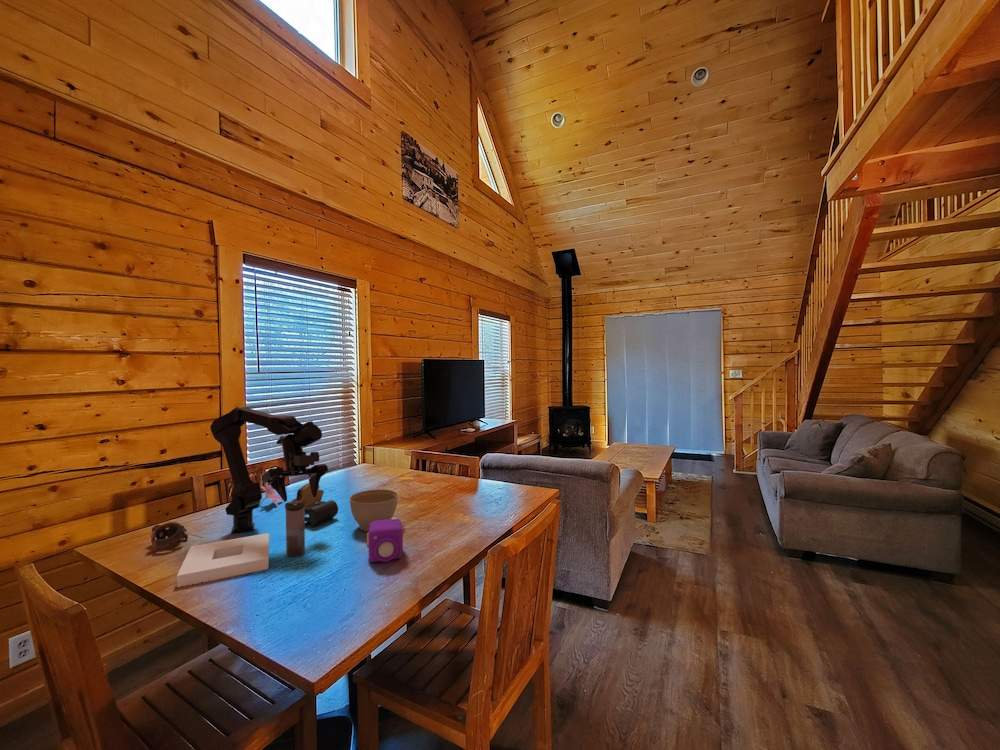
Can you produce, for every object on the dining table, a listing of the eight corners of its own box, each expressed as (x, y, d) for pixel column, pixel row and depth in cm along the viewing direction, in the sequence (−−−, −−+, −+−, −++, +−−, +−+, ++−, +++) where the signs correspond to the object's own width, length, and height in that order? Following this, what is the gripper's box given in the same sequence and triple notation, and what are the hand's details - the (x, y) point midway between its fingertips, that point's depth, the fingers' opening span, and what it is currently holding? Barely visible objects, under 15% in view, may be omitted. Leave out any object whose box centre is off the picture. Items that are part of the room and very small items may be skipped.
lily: (263, 515, 158) (277, 492, 160) (240, 501, 161) (254, 478, 163) (282, 514, 169) (295, 492, 171) (260, 501, 172) (273, 480, 174)
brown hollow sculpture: (198, 541, 133) (192, 523, 129) (170, 565, 125) (162, 548, 121) (168, 528, 135) (161, 511, 131) (139, 552, 127) (130, 534, 123)
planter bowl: (361, 540, 131) (361, 506, 131) (342, 526, 144) (342, 495, 144) (406, 527, 142) (406, 496, 142) (385, 515, 154) (385, 486, 154)
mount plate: (191, 556, 120) (191, 546, 120) (269, 542, 130) (269, 532, 130) (176, 587, 103) (176, 575, 103) (268, 568, 113) (268, 558, 113)
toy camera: (371, 572, 111) (371, 535, 110) (363, 552, 123) (362, 519, 123) (411, 563, 116) (410, 528, 115) (399, 545, 128) (399, 513, 128)
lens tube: (285, 552, 123) (284, 502, 123) (305, 548, 126) (304, 499, 126) (285, 559, 118) (285, 507, 118) (306, 555, 121) (305, 504, 121)
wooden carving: (314, 501, 171) (314, 477, 171) (324, 501, 170) (324, 477, 170) (288, 515, 155) (288, 488, 155) (300, 515, 154) (299, 489, 154)
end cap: (317, 528, 141) (316, 509, 141) (301, 525, 144) (301, 506, 144) (338, 519, 151) (338, 500, 151) (323, 516, 153) (323, 498, 153)
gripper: (274, 444, 123) (281, 495, 117) (332, 441, 137) (341, 486, 132) (258, 457, 128) (264, 507, 123) (316, 454, 143) (323, 498, 138)
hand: (300, 499), depth 129 cm, fingers open, 9 cm apart
